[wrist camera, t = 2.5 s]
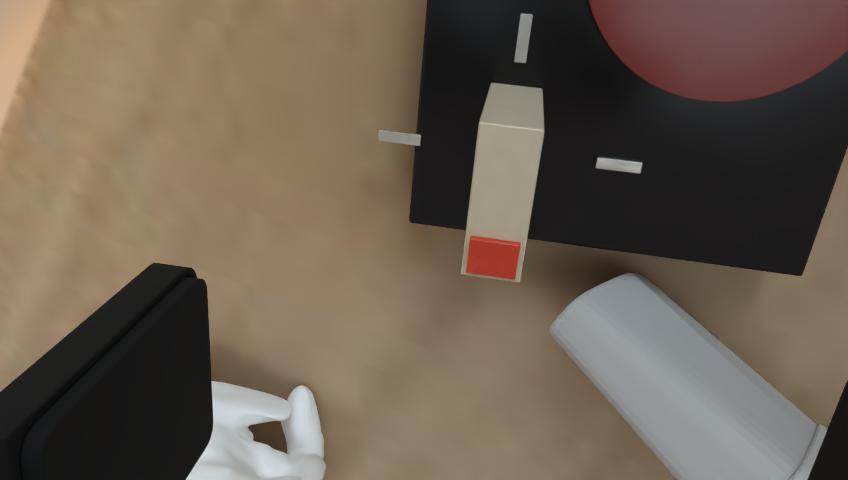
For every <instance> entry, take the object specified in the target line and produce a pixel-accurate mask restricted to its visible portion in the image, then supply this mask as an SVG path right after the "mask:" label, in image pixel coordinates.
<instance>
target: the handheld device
mask: <svg viewBox="0 0 848 480" xmlns="http://www.w3.org/2000/svg"><path fill="white" fill-rule="evenodd" d="M549 331H550V334H551V335H552V337H553V338H554V339H555V340H556V341H557V343H558V344H559V345H560V346H561V347H562V348H563V349H564V351H565V352H566V353H567V354H568V355H569V356H570V358H571V359H572V360H573V361H574V362H575V363H576V364H577V366H578V367H579V368H580V369H581V370H582V371H583V372H584V374H585V375H586V376H587V377H588V378H589V379H590V381H591V382H592V383H593V384H594V385H595V386H596V387H597V389H598V390H599V391H600V392H601V393H602V394H603V395H604V397H605V398H606V399H607V400H608V401H609V402H610V404H611V405H612V406H613V407H614V408H615V409H616V410H617V412H618V413H619V414H620V415H621V416H622V417H623V418H624V420H625V421H626V422H627V423H628V424H629V425H630V427H631V428H632V429H633V430H634V431H635V432H636V433H637V435H638V436H639V437H640V438H641V439H642V440H643V441H644V443H645V444H646V445H647V446H648V447H649V448H650V449H651V451H652V452H653V453H654V454H655V455H656V456H657V458H658V459H659V460H660V461H661V462H662V463H663V464H664V466H665V467H666V468H667V469H668V470H669V471H670V472H671V474H672V475H673V476H674V477H675V478H676V479H677V480H807V479H808V477H809V474H810V472H811V469H812V467H813V465H814V462H815V460H816V457H817V455H818V452H819V450H820V447H821V445H822V442H823V440H824V437H825V435H826V432H827V429H826V428H825V427H824V426H823V425H821V424H818V425H817V424H816V423H814V422H813V421H812V420H811V419H810V418H809V417H807V416H806V415H805V414H804V413H803V412H802V411H800V410H799V409H798V408H797V407H796V406H795V405H794V404H792V403H791V402H790V401H789V400H788V399H787V398H785V397H784V396H783V395H782V394H781V393H780V392H778V391H777V390H776V389H775V388H774V387H773V386H771V385H770V384H769V383H768V382H767V381H766V380H764V379H763V378H762V377H761V376H760V375H759V374H757V373H756V372H755V371H754V370H753V369H752V368H751V367H749V366H748V365H747V364H746V363H745V362H744V361H742V360H741V359H740V358H739V357H738V356H737V355H735V354H734V353H733V352H732V351H731V350H730V349H728V348H727V347H726V346H725V345H724V344H723V343H721V342H720V341H719V340H718V339H717V338H716V337H714V336H713V335H712V334H711V333H710V332H709V331H708V330H706V329H705V328H704V327H703V326H702V325H701V324H699V323H698V322H697V321H696V320H695V319H694V318H692V317H691V316H690V315H689V314H688V313H687V312H685V311H684V310H683V309H682V308H681V307H680V306H678V305H677V304H676V303H675V302H674V301H673V300H671V299H670V298H669V297H668V296H667V295H666V294H664V293H663V292H662V291H661V290H660V289H659V288H657V287H656V286H655V285H654V284H653V283H652V282H650V281H649V280H648V279H647V278H646V277H644V276H643V275H641V274H636V273H625V274H622V275H620V276H618V277H615V278H613V279H611V280H608V281H606V282H604V283H602V284H600V285H598V286H596V287H594V288H592V289H590V290H588V291H586V292H585V293H583V294H581V295H580V296H578V297H577V298H576V299H574V300H573V301H572V302H571V303H570V304H569V305H568V306H567V307H566V308H565V309H564V310H563V311H562V312H561V314H560V315H559V316H558V317H557V318H556V319H555V320H554V322H553V323H552V324H551V326H550V328H549Z"/></svg>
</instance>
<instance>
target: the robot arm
mask: <svg viewBox="0 0 848 480" xmlns="http://www.w3.org/2000/svg"><path fill="white" fill-rule="evenodd" d="M212 430H213V403H212V382H211V361H210V340H209V319H208V299H207V286H206V283H205V281H204V280H203V279H198V278H197V276H196V273H195V271H194V270H193V269H192V268H188V267H181V266H174V265H167V264H160V263H153V264H151V265H150V266H148V267H147V268H146V269H145V270H144V271H142V272H141V273H140V274H139V275H138V276H137V277H135V278H134V279H133V280H132V281H131V282H130V283H128V284H127V285H126V286H125V287H124V288H122V289H121V290H120V291H119V292H118V293H117V294H115V295H114V296H113V297H112V298H111V299H109V300H108V301H107V302H106V303H105V304H104V305H102V306H101V307H100V308H99V309H98V310H97V311H95V312H94V313H93V314H92V315H91V316H89V317H88V318H87V319H86V320H85V321H84V322H82V323H81V324H80V325H79V326H78V327H76V328H75V329H74V330H73V331H72V332H71V333H69V334H68V335H67V336H66V337H65V338H64V339H62V340H61V341H60V342H59V343H58V344H56V345H55V346H54V347H53V348H52V349H51V350H49V351H48V352H47V353H46V354H45V355H43V356H42V357H41V358H40V359H39V360H38V361H36V362H35V363H34V364H33V365H32V366H31V367H29V368H28V369H27V370H26V371H25V372H23V373H22V374H21V375H20V376H19V377H18V378H16V379H15V380H14V381H13V382H12V383H10V384H9V385H8V386H7V387H6V388H5V389H3V390H2V391H1V392H0V480H186V478H187V477H188V475H189V474H190V472H191V471H192V469H193V468H194V466H195V464H196V463H197V461H198V460H199V458H200V457H201V455H202V453H203V452H204V450H205V449H206V447H207V445H208V443H209V441H210V438H211V435H212ZM807 480H848V381H847V383H846V385H845V387H844V390H843V392H842V395H841V397H840V400H839V402H838V405H837V407H836V410H835V412H834V415H833V417H832V420H831V422H830V425H829V427H828V430H827V432H826V435H825V437H824V440H823V442H822V445H821V447H820V450H819V452H818V455H817V457H816V460H815V462H814V465H813V467H812V469H811V472H810V474H809V477H808V479H807Z"/></svg>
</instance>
